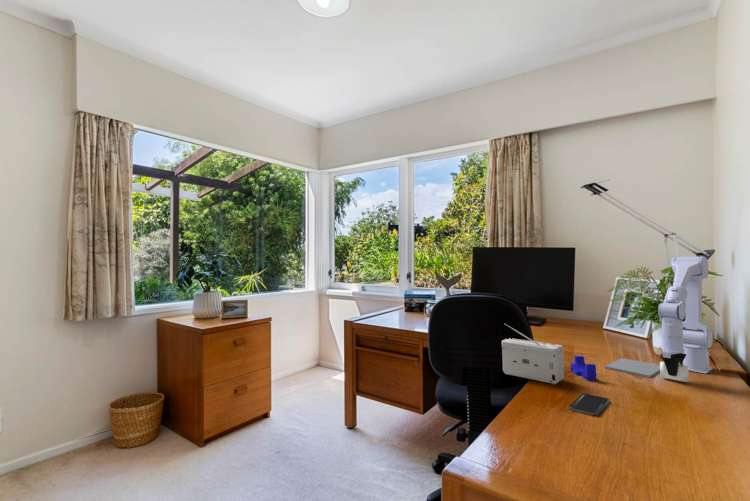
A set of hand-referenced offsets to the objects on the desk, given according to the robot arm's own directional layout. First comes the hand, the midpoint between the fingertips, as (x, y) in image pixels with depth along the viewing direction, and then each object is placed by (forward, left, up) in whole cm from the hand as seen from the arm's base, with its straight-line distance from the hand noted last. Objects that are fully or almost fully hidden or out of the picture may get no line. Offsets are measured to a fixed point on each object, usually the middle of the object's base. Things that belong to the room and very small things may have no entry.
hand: (674, 374), depth 128 cm
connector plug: (0, 0, -1) cm, 1 cm away
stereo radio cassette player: (+34, -34, -3) cm, 48 cm away
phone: (+44, -9, -3) cm, 45 cm away
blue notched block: (+18, -23, -3) cm, 29 cm away
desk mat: (-6, -14, -2) cm, 15 cm away
